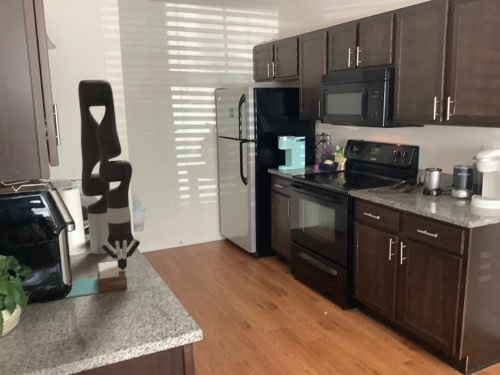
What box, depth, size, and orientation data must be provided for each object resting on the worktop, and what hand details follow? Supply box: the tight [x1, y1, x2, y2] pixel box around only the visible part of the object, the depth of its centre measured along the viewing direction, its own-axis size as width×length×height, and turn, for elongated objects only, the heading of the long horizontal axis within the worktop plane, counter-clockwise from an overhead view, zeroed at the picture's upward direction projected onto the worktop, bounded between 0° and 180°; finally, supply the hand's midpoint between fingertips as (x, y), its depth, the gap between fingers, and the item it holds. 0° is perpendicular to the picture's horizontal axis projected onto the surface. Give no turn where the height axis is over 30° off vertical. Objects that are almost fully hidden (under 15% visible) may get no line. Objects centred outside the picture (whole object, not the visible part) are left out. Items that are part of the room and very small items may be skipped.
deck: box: [96, 267, 128, 294], centre depth 148 cm, size 13×9×4 cm
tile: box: [98, 260, 119, 279], centre depth 147 cm, size 9×6×2 cm, turn 20°
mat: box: [64, 276, 100, 299], centre depth 145 cm, size 14×10×1 cm
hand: (122, 268), depth 149 cm, fingers closed
